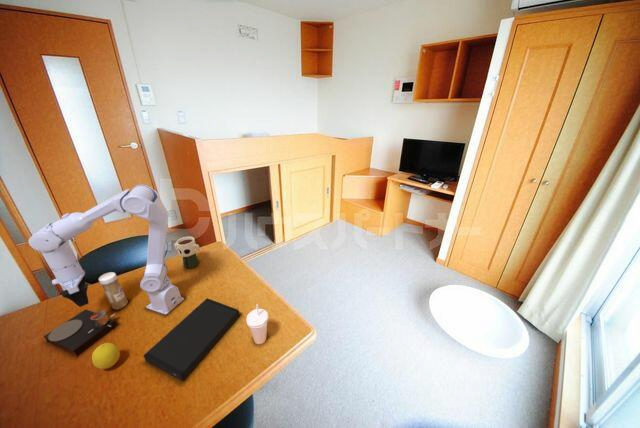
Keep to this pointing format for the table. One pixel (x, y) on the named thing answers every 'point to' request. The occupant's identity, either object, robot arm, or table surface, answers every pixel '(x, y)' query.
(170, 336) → the external hard drive
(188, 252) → the character mug
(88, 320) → the hob
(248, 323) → the smoothie
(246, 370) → the table surface
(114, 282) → the sprinkles bottle
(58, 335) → the burner
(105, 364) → the lemon
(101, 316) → the cupcake
